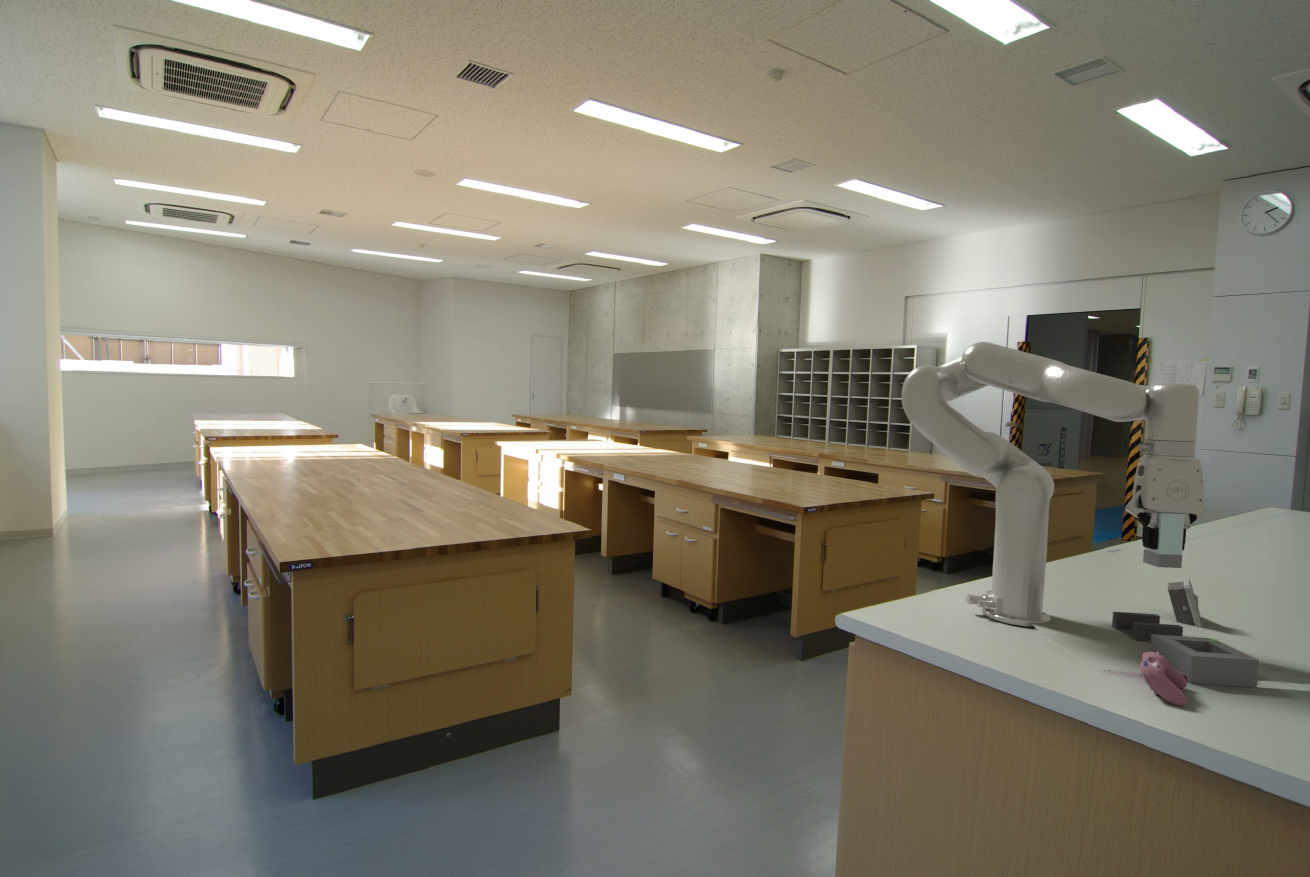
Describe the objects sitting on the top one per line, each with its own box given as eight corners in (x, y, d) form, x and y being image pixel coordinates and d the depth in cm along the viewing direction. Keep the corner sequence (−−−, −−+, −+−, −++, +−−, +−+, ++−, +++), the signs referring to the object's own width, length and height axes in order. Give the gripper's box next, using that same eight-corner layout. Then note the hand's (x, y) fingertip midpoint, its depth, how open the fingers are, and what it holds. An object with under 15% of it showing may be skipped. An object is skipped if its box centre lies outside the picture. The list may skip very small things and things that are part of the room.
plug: (1158, 567, 121) (1161, 513, 121) (1143, 561, 125) (1146, 509, 125) (1181, 568, 121) (1185, 513, 121) (1165, 562, 125) (1168, 510, 125)
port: (1189, 683, 107) (1192, 653, 106) (1149, 659, 116) (1151, 631, 116) (1256, 687, 106) (1259, 657, 105) (1210, 663, 116) (1212, 635, 115)
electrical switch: (1202, 633, 132) (1200, 586, 132) (1169, 629, 135) (1167, 583, 136) (1201, 622, 140) (1199, 577, 140) (1170, 618, 143) (1168, 575, 143)
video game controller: (1156, 690, 107) (1135, 647, 109) (1189, 685, 104) (1167, 641, 106) (1153, 711, 99) (1131, 664, 101) (1189, 706, 97) (1166, 659, 98)
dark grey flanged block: (1136, 645, 123) (1137, 624, 123) (1110, 630, 131) (1112, 611, 131) (1182, 648, 123) (1183, 627, 122) (1153, 633, 130) (1155, 613, 130)
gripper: (1135, 450, 119) (1129, 551, 120) (1233, 453, 118) (1226, 554, 119) (1109, 447, 126) (1104, 542, 127) (1200, 450, 126) (1194, 546, 126)
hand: (1163, 547), depth 123 cm, fingers closed on plug, 4 cm apart
